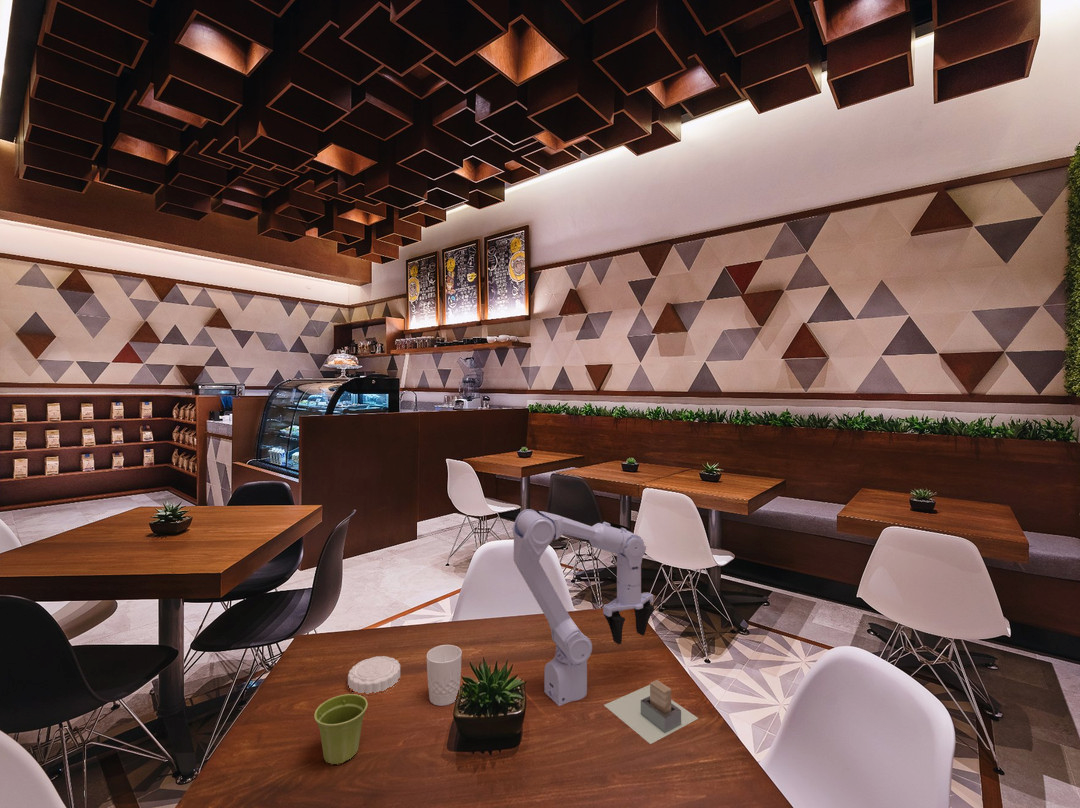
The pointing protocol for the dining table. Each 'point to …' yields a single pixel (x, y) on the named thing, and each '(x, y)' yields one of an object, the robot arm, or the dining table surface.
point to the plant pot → (340, 726)
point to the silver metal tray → (661, 716)
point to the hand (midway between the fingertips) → (629, 638)
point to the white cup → (444, 674)
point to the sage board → (631, 715)
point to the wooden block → (660, 697)
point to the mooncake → (374, 674)
